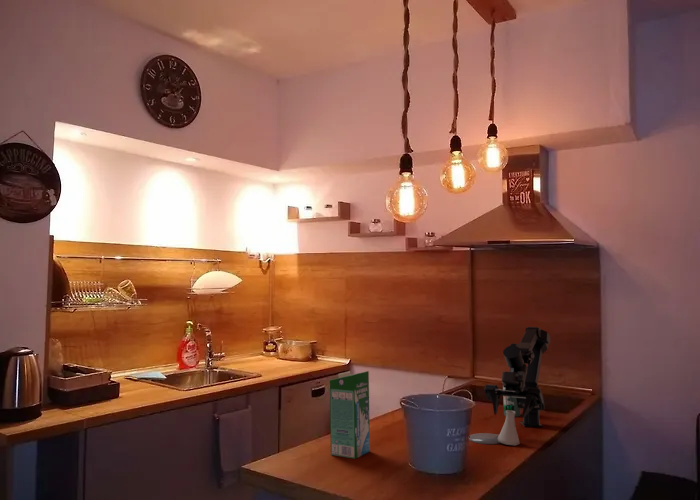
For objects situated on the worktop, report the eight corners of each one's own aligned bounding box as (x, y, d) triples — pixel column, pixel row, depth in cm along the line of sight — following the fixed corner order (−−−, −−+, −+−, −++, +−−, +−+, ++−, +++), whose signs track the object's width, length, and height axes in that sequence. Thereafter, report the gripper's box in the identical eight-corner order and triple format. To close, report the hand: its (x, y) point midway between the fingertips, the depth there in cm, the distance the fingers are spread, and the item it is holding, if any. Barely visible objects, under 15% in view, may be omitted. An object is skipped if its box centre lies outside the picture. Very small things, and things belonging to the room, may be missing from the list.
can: (501, 413, 222) (500, 376, 224) (515, 413, 223) (514, 375, 225) (508, 417, 216) (507, 378, 218) (523, 416, 217) (521, 377, 219)
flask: (494, 442, 178) (496, 411, 177) (500, 436, 184) (502, 406, 184) (517, 447, 174) (519, 416, 174) (522, 441, 180) (524, 411, 180)
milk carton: (345, 447, 177) (344, 368, 179) (370, 451, 172) (368, 370, 174) (330, 454, 169) (329, 372, 171) (355, 459, 164) (354, 374, 166)
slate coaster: (466, 434, 190) (466, 433, 190) (501, 434, 190) (501, 433, 190) (472, 444, 178) (471, 442, 178) (509, 444, 178) (509, 442, 178)
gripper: (484, 360, 191) (474, 398, 181) (539, 363, 181) (532, 403, 171) (492, 380, 197) (483, 418, 187) (546, 384, 187) (539, 424, 177)
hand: (508, 415), depth 180 cm, fingers open, 9 cm apart
